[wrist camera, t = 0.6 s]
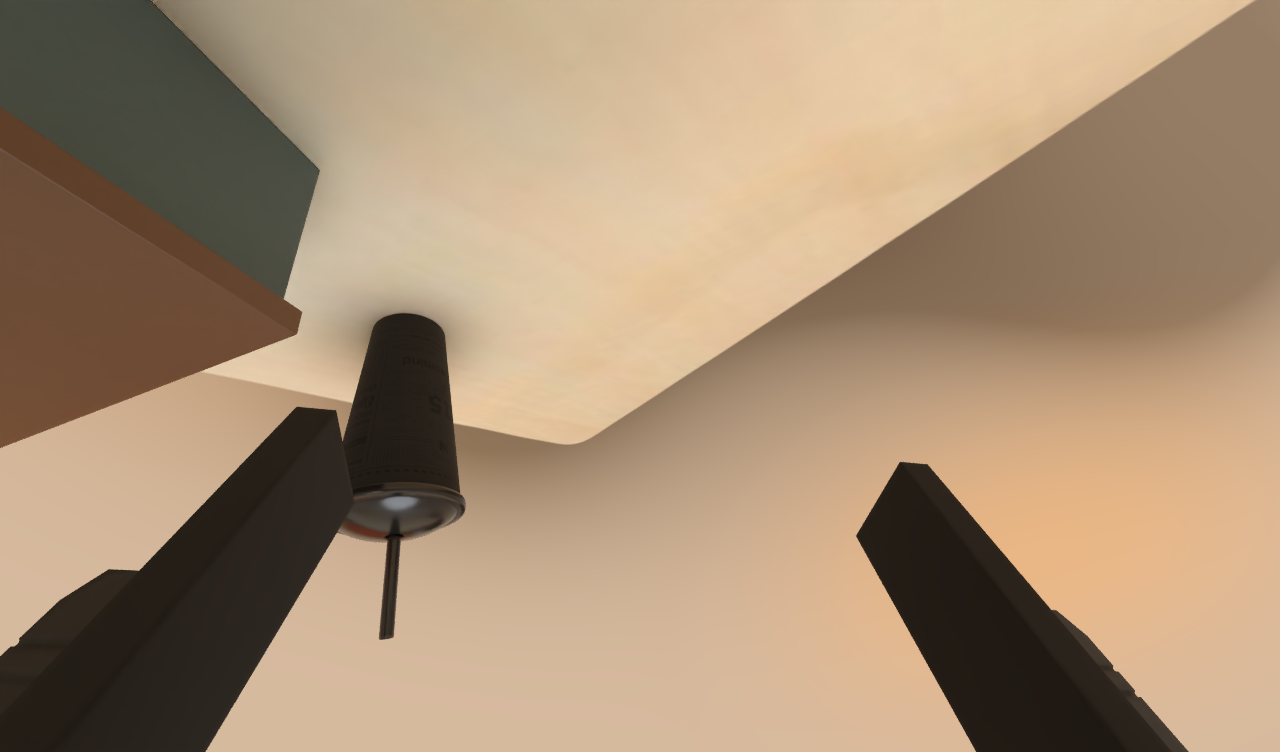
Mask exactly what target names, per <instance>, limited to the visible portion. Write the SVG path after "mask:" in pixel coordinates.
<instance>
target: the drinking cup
mask: <svg viewBox="0 0 1280 752" xmlns="http://www.w3.org/2000/svg"><path fill="white" fill-rule="evenodd" d="M343 447H344V452H345V457H346V462H347V467H348V472H349V476H350V481H351V486H352V491H353V496H354V501H355V503H354V505H353V507H352V508H351V510H350V512H349V513H348V515H347V517H346V518H345V520H344V522H343V523H342V525H341V527H340V528H339V530H338V532H337V533H340V534H344V535H347V536H350V537H353V538H356V539H359V540H364V541H370V542H382V543H386V542H387V551H386V562H385V575H384V585H383V597H382V598H383V599H382V609H381V620H380V632H379V639H380V640H383V639H389V638H393V637H394V626H395V611H396V598H397V584H398V569H399V556H400V542H401V541H406V540H412V539H415V538H419V537H422V536H425V535H428V534H430V533H432V532H434V531H436V530H438V529H440V528H443V527H445V526H448V525H450V524H452V523H454V522H456V521H457V520H458V519H459V518H461V517H462V515H463V514H464V512H465V508H466V503H465V499H464V497H463V496H462V495H461V494H460V487H459V477H458V466H457V456H456V446H455V435H454V426H453V415H452V405H451V394H450V384H449V374H448V363H447V353H446V343H445V335H444V332H443V330H442V329H441V328H440V326H439V325H437V324H436V323H435V322H433V321H431V320H429V319H427V318H425V317H421V316H417V315H412V314H397V315H391V316H388V317H385V318H383V319H381V320H380V321H378V322H377V323H376V324H375V326H374V328H373V330H372V334H371V338H370V342H369V345H368V349H367V353H366V357H365V360H364V364H363V368H362V371H361V375H360V379H359V383H358V386H357V390H356V394H355V398H354V401H353V405H352V409H351V412H350V416H349V420H348V424H347V427H346V431H345V435H344V439H343Z"/></svg>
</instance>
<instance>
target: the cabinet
mask: <svg viewBox="0 0 1280 752" xmlns="http://www.w3.org/2000/svg"><path fill="white" fill-rule="evenodd" d="M318 175H319V170H318V169H317V168H316V167H315V166H314V165H313V164H312V163H311V162H310V161H309V160H308V159H307V158H306V157H305V156H304V155H303V154H302V153H301V152H300V151H299V150H298V149H297V148H296V147H295V146H294V145H293V144H292V143H291V142H290V140H289V139H288V138H287V137H286V136H285V135H284V134H283V133H282V132H281V131H280V130H279V129H278V128H277V127H276V126H275V125H274V124H273V123H272V122H271V121H270V120H269V119H268V118H267V117H266V116H265V115H264V114H263V113H262V112H261V111H260V110H259V109H258V108H257V107H256V106H255V105H254V104H253V103H252V102H251V101H250V100H249V99H248V98H247V97H246V96H245V95H244V94H243V93H242V92H241V91H240V90H239V89H238V88H237V87H236V86H235V85H234V84H233V83H232V82H231V81H230V80H229V79H228V78H227V77H226V76H225V75H224V74H223V73H222V72H221V71H220V70H219V69H218V68H217V67H216V66H215V65H214V64H213V63H212V62H211V61H210V60H209V59H208V58H207V57H206V56H205V55H204V54H203V53H202V52H201V51H200V50H199V49H198V48H197V47H196V46H195V45H194V44H193V43H192V42H191V41H190V40H189V39H188V38H187V37H186V36H185V35H184V34H183V33H182V32H181V31H180V30H179V29H178V28H177V27H176V26H175V25H174V24H173V23H172V22H171V21H170V20H169V19H168V18H167V17H166V16H165V15H164V14H163V13H162V12H161V11H160V10H159V9H158V8H157V7H156V6H155V5H154V4H153V3H152V2H151V1H150V0H0V448H1V447H4V446H7V445H9V444H12V443H14V442H17V441H20V440H22V439H25V438H28V437H30V436H33V435H35V434H37V433H40V432H43V431H46V430H48V429H51V428H54V427H56V426H59V425H61V424H64V423H67V422H69V421H72V420H74V419H77V418H80V417H82V416H85V415H87V414H90V413H93V412H95V411H98V410H100V409H103V408H106V407H108V406H111V405H113V404H116V403H119V402H121V401H124V400H126V399H129V398H132V397H134V396H137V395H140V394H142V393H145V392H148V391H150V390H153V389H155V388H158V387H161V386H163V385H166V384H168V383H171V382H173V381H176V380H179V379H181V378H184V377H187V376H189V375H192V374H194V373H197V372H200V371H202V370H205V369H208V368H210V367H213V366H215V365H218V364H221V363H223V362H226V361H228V360H231V359H234V358H236V357H239V356H241V355H244V354H247V353H249V352H252V351H254V350H257V349H260V348H262V347H265V346H268V345H270V344H273V343H275V342H278V341H281V340H283V339H286V338H288V337H291V336H294V335H296V334H297V331H298V327H299V323H300V319H301V315H302V312H301V311H300V310H299V309H297V308H296V307H294V306H293V305H291V304H290V303H288V302H287V301H285V300H284V295H285V292H286V288H287V285H288V281H289V278H290V274H291V271H292V267H293V263H294V260H295V256H296V253H297V249H298V246H299V242H300V239H301V235H302V232H303V228H304V224H305V221H306V217H307V214H308V210H309V207H310V203H311V200H312V196H313V193H314V189H315V185H316V182H317V178H318Z"/></svg>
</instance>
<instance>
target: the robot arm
mask: <svg viewBox="0 0 1280 752" xmlns="http://www.w3.org/2000/svg"><path fill="white" fill-rule="evenodd" d="M354 503H355V501H354V496H353V491H352V486H351V481H350V476H349V472H348V467H347V462H346V457H345V452H344V447H343V442H342V437H341V432H340V427H339V423H338V417H337V413H336V410H326V409H314V408H303V407H296V408H295V409H294V410H293V411H292V412H291V413H290V414H289V416H287V418H285V420H284V421H283V422H282V423H281V424H280V425H279V426H278V427H277V428H276V429H275V430H274V431H273V432H272V433H271V434H270V435H269V436H268V437H267V438H266V439H265V440H264V441H263V442H262V443H261V445H260V446H259V447H258V448H257V449H256V450H255V451H254V452H253V453H252V454H251V455H250V456H249V457H248V458H247V459H246V460H245V461H244V462H243V463H242V464H241V465H240V466H239V468H237V470H236V471H235V472H234V473H233V474H232V475H231V476H230V477H229V478H228V479H227V480H226V481H225V482H224V483H223V484H222V485H221V486H220V487H219V488H218V489H217V490H216V492H214V493H213V495H212V496H211V497H210V498H209V499H208V500H207V501H206V502H205V503H204V504H203V505H202V506H201V507H200V508H199V509H198V510H197V511H196V512H195V513H194V514H193V515H192V516H191V517H190V518H189V519H188V521H187V522H186V523H185V524H184V525H183V526H182V527H181V528H180V529H179V530H178V531H177V532H176V533H175V534H174V535H173V536H172V537H171V538H170V539H169V540H168V541H167V542H166V544H165V545H164V546H163V547H162V548H161V549H160V550H159V551H158V552H157V553H156V554H155V555H154V556H153V557H152V558H151V559H150V560H149V561H148V562H147V563H146V564H145V565H144V566H143V568H141V569H140V570H139V571H134V570H110V569H109V570H107V571H106V572H104V573H102V574H101V575H99V576H97V577H96V578H94V579H93V580H91V581H90V582H88V583H86V584H85V585H83V586H82V587H80V588H78V589H77V590H75V591H74V592H72V593H71V594H69V595H67V596H66V597H64V598H63V599H61V600H60V601H59V602H58V603H56V604H55V605H54V606H53V607H52V608H51V609H50V610H49V611H48V612H47V613H46V614H45V615H44V616H43V617H42V618H40V619H39V620H38V621H37V622H36V623H35V624H34V625H33V626H32V627H31V628H30V629H29V630H28V631H27V632H26V633H25V634H24V635H22V637H20V638H19V640H20V641H19V643H18V644H17V645H16V646H14V647H10V648H9V649H8V650H7V651H6V652H4V653H3V654H2V655H1V656H0V752H205V751H206V750H207V748H208V747H209V745H210V743H211V742H212V740H213V738H214V737H215V735H216V733H217V731H218V730H219V728H220V727H221V725H222V723H223V722H224V720H225V718H226V717H227V715H228V713H229V712H230V710H231V708H232V707H233V705H234V703H235V702H236V700H237V698H238V697H239V695H240V693H241V692H242V690H243V688H244V687H245V685H246V683H247V682H248V680H249V678H250V677H251V675H252V673H253V672H254V670H255V668H256V667H257V665H258V663H259V662H260V660H261V658H262V657H263V655H264V653H265V652H266V650H267V648H268V647H269V645H270V643H271V642H272V640H273V638H274V637H275V635H276V633H277V632H278V630H279V628H280V626H281V625H282V623H283V621H284V620H285V618H286V617H287V615H288V613H289V612H290V610H291V608H292V606H293V605H294V603H295V601H296V600H297V598H298V597H299V595H300V593H301V592H302V590H303V588H304V587H305V585H306V583H307V582H308V580H309V578H310V577H311V575H312V573H313V572H314V570H315V568H316V567H317V565H318V563H319V562H320V560H321V558H322V557H323V555H324V553H325V552H326V550H327V548H328V547H329V545H330V543H331V542H332V540H333V538H334V537H335V535H336V533H337V532H338V530H339V528H340V527H341V525H342V523H343V522H344V520H345V518H346V517H347V515H348V513H349V512H350V510H351V508H352V507H353V505H354ZM856 537H857V538H858V540H859V542H860V544H861V546H862V548H863V549H864V551H865V553H866V555H867V557H868V558H869V560H870V562H871V564H872V566H873V567H874V569H875V571H876V573H877V575H878V576H879V578H880V580H881V581H882V584H883V585H884V587H885V589H886V591H887V593H888V594H889V596H890V598H891V600H892V601H893V603H894V605H895V607H896V609H897V610H898V612H899V614H900V616H901V618H902V619H903V621H904V623H905V625H906V627H907V628H908V630H909V632H910V634H911V636H912V637H913V639H914V641H915V643H916V645H917V646H918V648H919V650H920V652H921V654H922V655H923V657H924V659H925V660H926V663H927V664H928V666H929V668H930V670H931V671H932V673H933V675H934V677H935V679H936V680H937V682H938V684H939V686H940V688H941V689H942V691H943V693H944V695H945V697H946V698H947V700H948V702H949V704H950V705H951V707H952V709H953V711H954V713H955V715H956V716H957V718H958V720H959V722H960V724H961V725H962V727H963V729H964V731H965V732H966V734H967V736H968V738H969V740H970V741H971V743H972V745H973V747H974V749H975V751H976V752H1188V751H1187V749H1186V748H1185V747H1184V746H1183V745H1182V744H1181V743H1180V741H1179V740H1178V739H1177V738H1176V737H1175V736H1174V735H1173V733H1172V732H1171V731H1170V730H1169V729H1168V728H1167V727H1166V726H1165V724H1164V723H1163V722H1162V721H1161V720H1160V719H1159V717H1158V716H1157V715H1156V714H1155V713H1154V712H1153V711H1152V709H1150V707H1149V706H1148V705H1147V704H1146V703H1145V701H1144V700H1143V699H1142V698H1141V697H1137V696H1136V695H1135V690H1134V689H1133V688H1132V687H1131V685H1130V684H1129V683H1128V682H1127V681H1126V680H1125V679H1124V677H1123V676H1122V675H1121V674H1120V673H1119V672H1115V671H1114V669H1113V665H1112V664H1111V663H1110V662H1109V660H1108V659H1107V658H1106V657H1105V656H1104V655H1103V653H1102V652H1101V651H1100V650H1099V649H1098V648H1097V647H1096V646H1095V644H1094V643H1093V642H1092V641H1091V640H1090V639H1089V637H1088V636H1086V635H1085V634H1084V633H1083V632H1082V631H1080V630H1079V629H1078V628H1077V627H1076V626H1074V625H1073V624H1072V623H1071V622H1070V621H1069V620H1067V619H1066V618H1065V617H1064V616H1063V615H1061V614H1060V613H1059V612H1058V611H1056V610H1051V609H1050V608H1049V607H1048V606H1047V604H1046V603H1045V602H1044V601H1043V600H1042V599H1041V597H1040V596H1039V595H1038V594H1037V593H1036V591H1035V590H1034V589H1033V588H1032V587H1031V585H1030V584H1029V583H1028V582H1027V581H1026V580H1025V578H1024V577H1023V576H1022V575H1021V574H1020V573H1019V572H1018V570H1017V569H1016V568H1015V567H1014V565H1013V564H1012V563H1011V562H1010V561H1009V560H1008V558H1007V557H1006V556H1005V555H1004V554H1003V553H1002V551H1000V549H999V548H998V547H997V546H996V544H995V543H994V542H993V541H992V540H991V539H990V537H989V536H988V535H987V534H986V533H985V531H984V530H983V529H982V528H981V527H980V526H979V524H978V523H977V522H976V521H975V520H974V519H973V517H972V516H971V515H970V514H969V513H968V511H966V509H965V508H964V507H963V506H962V505H961V503H960V502H959V501H958V500H957V499H956V497H955V496H954V495H953V494H952V493H951V492H950V490H949V489H948V488H947V487H946V486H945V484H944V483H943V482H942V481H941V480H940V479H939V477H938V476H937V475H936V474H935V473H934V471H932V469H931V468H930V467H929V466H928V465H927V464H917V463H906V462H900V463H899V464H898V466H897V468H896V470H895V471H894V473H893V475H892V476H891V478H890V480H889V481H888V483H887V485H886V486H885V488H884V490H883V492H882V493H881V495H880V497H879V498H878V500H877V502H876V503H875V505H874V507H873V508H872V510H871V512H870V513H869V515H868V517H867V518H866V520H865V522H864V523H863V525H862V527H861V528H860V530H859V532H858V533H857V535H856Z"/></svg>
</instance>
